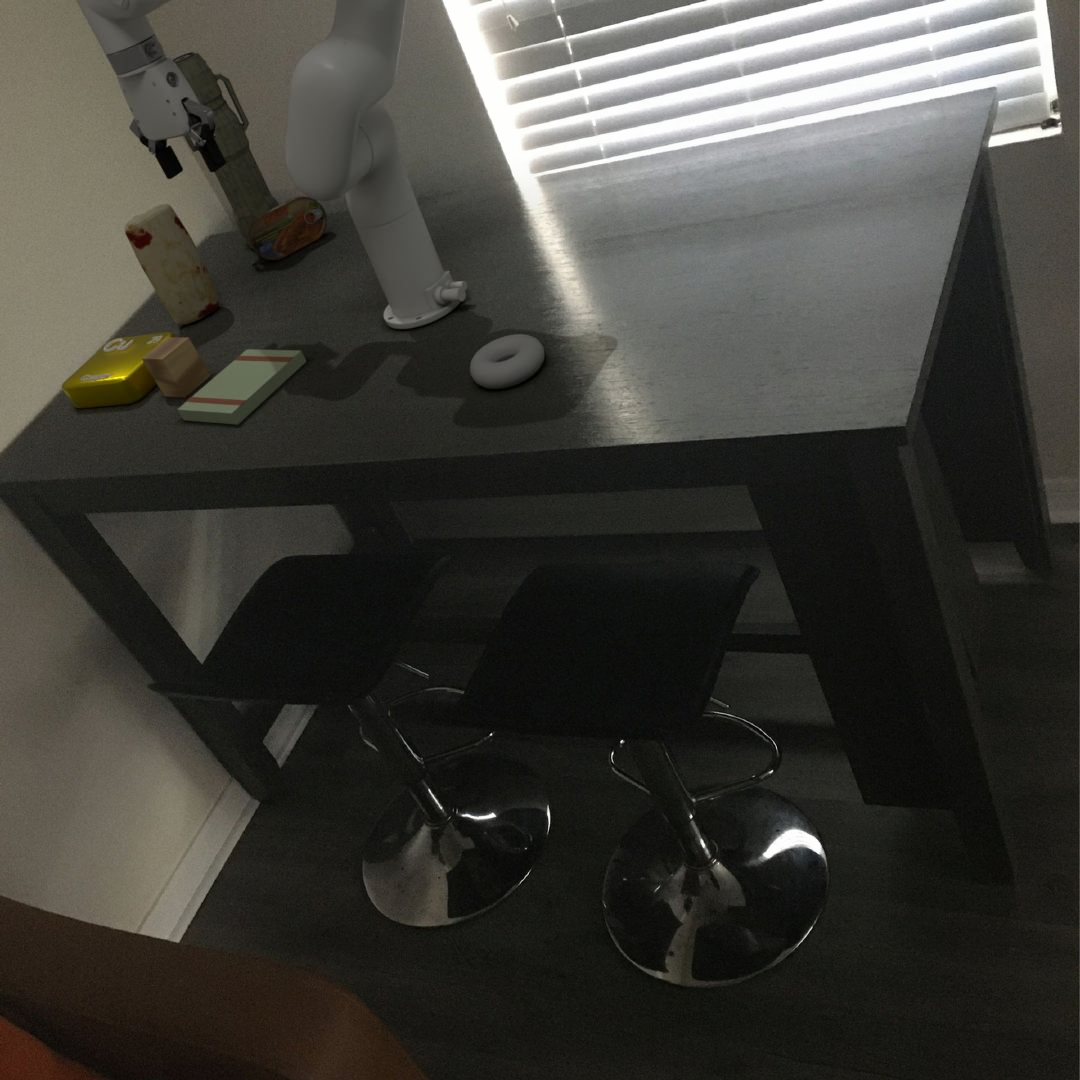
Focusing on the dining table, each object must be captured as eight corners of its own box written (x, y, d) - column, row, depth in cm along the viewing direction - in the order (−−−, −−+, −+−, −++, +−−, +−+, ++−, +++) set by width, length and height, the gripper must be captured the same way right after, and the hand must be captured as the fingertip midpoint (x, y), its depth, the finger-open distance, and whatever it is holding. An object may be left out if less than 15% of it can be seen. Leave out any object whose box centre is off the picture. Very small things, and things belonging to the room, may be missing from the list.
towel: (306, 361, 162) (300, 349, 160) (238, 424, 152) (231, 412, 151) (252, 360, 168) (246, 348, 167) (183, 420, 159) (176, 409, 158)
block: (210, 375, 169) (189, 337, 164) (185, 397, 165) (162, 359, 161) (190, 374, 171) (168, 337, 167) (164, 396, 168) (141, 358, 164)
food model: (183, 334, 186) (122, 227, 174) (171, 325, 191) (111, 221, 179) (232, 306, 189) (175, 199, 177) (219, 299, 194) (162, 194, 182)
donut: (463, 378, 143) (494, 403, 135) (454, 356, 141) (484, 379, 133) (527, 343, 145) (561, 366, 137) (519, 321, 143) (553, 342, 135)
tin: (264, 268, 199) (243, 226, 194) (259, 264, 202) (238, 222, 197) (334, 231, 203) (315, 189, 198) (329, 228, 205) (310, 186, 200)
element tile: (70, 410, 175) (53, 385, 172) (124, 359, 185) (109, 335, 182) (138, 404, 169) (121, 378, 166) (190, 352, 179) (175, 327, 176)
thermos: (303, 228, 210) (218, 45, 189) (249, 256, 207) (157, 73, 186) (289, 219, 217) (205, 42, 196) (237, 246, 214) (146, 68, 193)
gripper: (194, 36, 150) (251, 154, 160) (117, 57, 160) (175, 166, 170) (158, 57, 146) (220, 177, 156) (81, 77, 155) (143, 188, 165)
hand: (197, 171), depth 163 cm, fingers open, 9 cm apart
